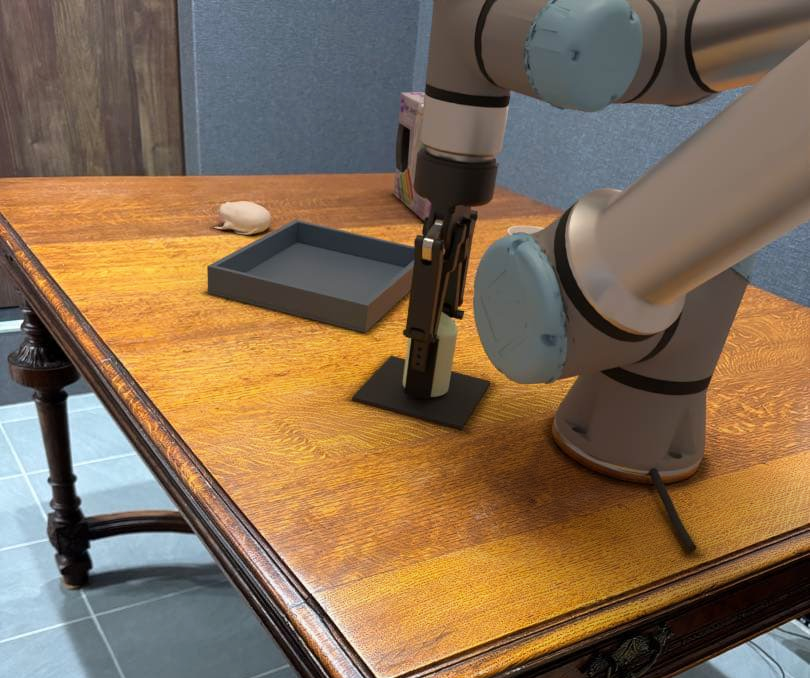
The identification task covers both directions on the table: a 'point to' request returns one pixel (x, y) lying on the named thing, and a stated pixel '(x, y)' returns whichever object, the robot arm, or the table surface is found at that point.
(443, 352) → the candle
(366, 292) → the bin
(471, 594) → the table surface
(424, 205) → the cake pan box
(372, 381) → the mat
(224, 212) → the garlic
